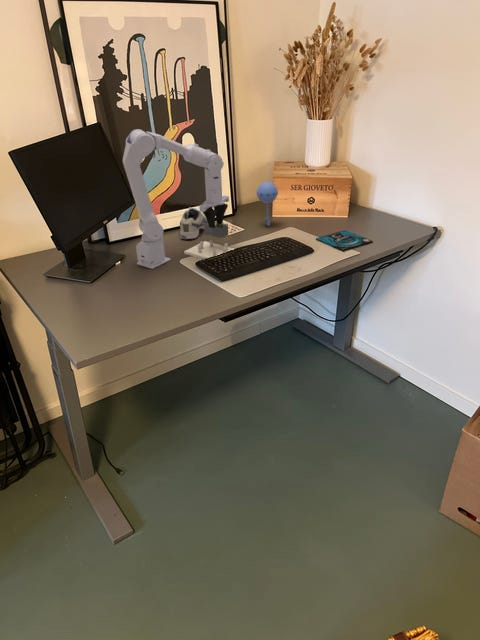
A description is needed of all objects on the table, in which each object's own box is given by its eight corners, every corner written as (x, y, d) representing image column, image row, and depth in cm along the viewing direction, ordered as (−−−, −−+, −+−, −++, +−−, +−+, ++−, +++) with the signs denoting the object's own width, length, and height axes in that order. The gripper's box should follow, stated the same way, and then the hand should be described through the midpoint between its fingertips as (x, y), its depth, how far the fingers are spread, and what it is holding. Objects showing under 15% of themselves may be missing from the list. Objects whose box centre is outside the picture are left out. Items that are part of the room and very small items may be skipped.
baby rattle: (254, 223, 205) (253, 180, 196) (273, 220, 207) (273, 178, 198) (261, 229, 198) (260, 185, 189) (280, 227, 200) (281, 183, 191)
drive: (228, 235, 178) (227, 224, 176) (221, 238, 175) (221, 227, 173) (211, 231, 182) (210, 220, 180) (204, 234, 179) (203, 223, 177)
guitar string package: (342, 250, 175) (316, 238, 186) (342, 253, 176) (315, 241, 187) (372, 240, 182) (345, 229, 193) (372, 244, 182) (344, 232, 194)
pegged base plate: (218, 263, 170) (217, 253, 168) (184, 253, 179) (183, 244, 177) (238, 252, 178) (238, 243, 177) (205, 243, 187) (204, 235, 185)
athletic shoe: (212, 221, 209) (204, 194, 203) (204, 241, 190) (194, 212, 184) (190, 226, 211) (181, 200, 206) (180, 247, 192) (170, 218, 186)
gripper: (209, 194, 163) (211, 233, 170) (235, 185, 173) (236, 221, 180) (193, 192, 166) (196, 229, 173) (219, 182, 176) (221, 218, 183)
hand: (215, 225), depth 177 cm, fingers closed on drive, 4 cm apart
